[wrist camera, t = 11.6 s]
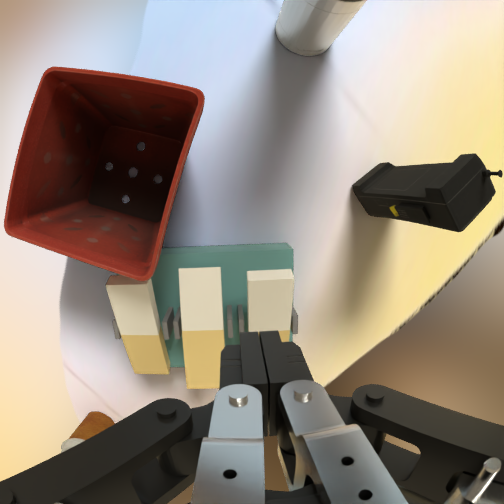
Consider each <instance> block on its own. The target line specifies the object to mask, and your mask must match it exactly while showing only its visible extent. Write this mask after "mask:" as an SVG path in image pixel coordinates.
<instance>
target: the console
mask: <svg viewBox="0 0 504 504" xmlns="http://www.w3.org/2000/svg"><path fill="white" fill-rule="evenodd" d="M205 267H221V281H222V302H223V321H224V339H225V346H226V345H240V334H239V332H248V311H247V271H258V270H279V269H291V270H292V273H293V248H292V247H291V246H289V245H288V244H287V243H268V244H243V245H218V246H194V247H171V248H162V249H161V254H160V257H159V261H158V264H157V267H156V270H155V272H154V274H153V276H152V277H151V281H152V286H153V291H154V296H155V301H156V305H157V310H158V314H159V319H160V323H161V328H162V332H163V336H164V340H165V344H166V348H167V352H168V356H169V360H170V367H185V362H184V350H183V338H182V324H181V308H180V289H179V268H205ZM117 275H120V274H117ZM113 327H114V332H115V338H116V339H120V338H121V334H120V331H119V328H118V325H117V322H116V319H114V320H113ZM292 333H293V334H298V315H297V313H296V311H295V310H294V308H293V303H292V314H291V325H290V335H289V342H291V341H292Z"/></svg>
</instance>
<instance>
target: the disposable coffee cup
mask: <svg viewBox="0 0 504 504" xmlns="http://www.w3.org/2000/svg"><path fill="white" fill-rule="evenodd" d="M114 424H115V423H114V422H113V420H112V419H111V418H110V417H108V416H107V415H105V414H103V413H101V412H96V411H95V412H90V413H89V414H88V415H87V416H86V418H85V419H84V420H83V421H82V423H81V424H80V425H79V426H78V428H77V429H76V430H75V432H74V433H73V434H72V435H71V436H70V438H69V439H68V440H66V441H64V442H63V444H62V446H61V449H62V451H61V453H62V452H64V451H66V450H68V449H70V448H72V447H74V446H76V445H77V444H79V443H81V442H83V441H85V440H87V439H89V438H91V437H92V436H94V435H96V434H98V433H100V432H102V431H103V430H105V429H107V428H109V427H111V426H112V425H114Z"/></svg>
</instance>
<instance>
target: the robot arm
mask: <svg viewBox="0 0 504 504" xmlns="http://www.w3.org/2000/svg"><path fill="white" fill-rule="evenodd" d="M366 1H367V0H284V1H283V4H282V7H281V10H280V13H279V16H278V19H277V22H276V27H275V30H276V35H277V38H278V39H279V41H280V42H281V43H282V45H283V46H284V47H286V48H287V49H288V50H290V51H292V52H294V53H296V54H299V55H304V56H314V55H319V54H321V53H323V52H325V51H326V50H327V49H328V48H329V47H330V45H331V44H332V43H333V42H334V40H335V39H336V38H337V37H338V36H339V34H340V33H341V32H342V31H343V29H344V28H345V27H346V26H347V24H348V23H349V22H350V21H351V19H352V18H353V17H354V16H355V14H356V13H357V12H358V11H359V10H360V8H361V7H362V6H363V5H364V3H365V2H366ZM239 334H240V345H226V346H225V347H224V349H223V350H222V351H221V358H220V386H219V391H218V392H217V393H216V396H215V400H214V401H212V402H211V403H209V404H207V405H204V406H201V407H197V408H192V409H190V407H189V405H188V404H186V403H185V402H183V401H181V400H178V399H173V398H165V399H160V400H156V401H154V402H152V403H150V404H149V405H147V406H145V407H143V408H142V409H140V410H138V411H137V412H135V413H133V414H132V415H130V416H128V417H126V418H125V419H123V420H121V421H119V422H118V423H116V424H114V425H112V426H111V427H109V428H107V429H105V430H103V431H102V432H100V433H98V434H96V435H94V436H92V437H91V438H89V439H87V440H85V441H83V442H81V443H79V444H77V445H76V446H74V447H72V448H70V449H68V450H66V451H64V452H62V453H60V454H58V455H56V456H54V457H52V458H50V459H49V460H46V461H44V462H42V463H40V464H38V465H36V466H34V467H32V468H29V469H27V470H25V471H23V472H21V473H19V474H17V475H14V476H12V477H10V478H8V479H6V480H3V481H1V482H0V504H167V503H168V502H169V501H171V500H172V499H173V498H175V497H176V496H177V495H179V494H180V493H181V492H182V491H184V490H185V489H186V488H187V487H188V486H190V485H191V484H192V483H193V482H194V487H193V493H192V498H191V502H190V503H188V504H504V426H502V425H499V424H495V423H491V422H488V421H485V420H482V419H478V418H475V417H472V416H468V415H465V414H462V413H459V412H456V411H453V410H450V409H447V408H444V407H441V406H438V405H435V404H432V403H429V402H426V401H423V400H420V399H418V398H414V397H412V396H409V395H406V394H403V393H401V392H398V391H396V390H393V389H390V388H388V387H385V386H381V385H376V384H370V385H364V386H361V387H359V388H357V389H356V390H355V391H354V393H353V396H352V397H339V396H332V395H329V394H327V392H326V391H325V389H324V388H323V386H321V385H320V384H318V383H316V382H314V380H313V378H312V375H311V373H310V370H309V368H308V366H307V363H306V361H305V358H304V356H303V354H302V351H301V349H300V347H299V346H297V345H296V344H295V343H293V342H292V341H291V342H282V341H281V338H280V335H279V332H278V330H274V331H259V334H258V331H257V332H239ZM267 429H268V430H269V436H274V435H277V438H278V455H279V458H280V461H281V465H282V468H283V471H284V474H285V478H286V481H287V484H288V488H289V492H284V491H272V490H265V483H264V436H267V435H268V433H267V432H268V431H267ZM386 433H387V434H389V435H391V436H394V437H396V438H399V439H401V440H404V441H406V442H408V443H411V444H413V445H415V446H417V447H418V448H419V450H420V452H421V454H416V453H413V452H410V451H408V450H406V449H403V448H401V447H398V446H396V445H394V444H391V443H389V442H387V441H384V439H385V436H386Z"/></svg>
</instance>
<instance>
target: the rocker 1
mask: <svg viewBox="0 0 504 504" xmlns="http://www.w3.org/2000/svg"><path fill="white" fill-rule="evenodd" d="M106 289H107V292H108V296H109V299H110V302H111V306H112V309H113V312H114V315H115V319H116V322H117V325H118V328H119V331H120V334H121V337H122V340H123V343H124V345H125V348H126V351H127V354H128V357H129V359H130V362H131V365H132V367H133V370H134V373H136V374H169V371H170V360H169V356H168V352H167V348H166V344H165V340H164V336H163V332H162V328H161V323H160V319H159V314H158V310H157V305H156V301H155V296H154V291H153V286H152V281H151V278H150V279H149V280H147V281H138V280H135V279H132V278H129V277H126V276H123V275H115V276H110V277H109V279H108V281H107V283H106Z"/></svg>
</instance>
